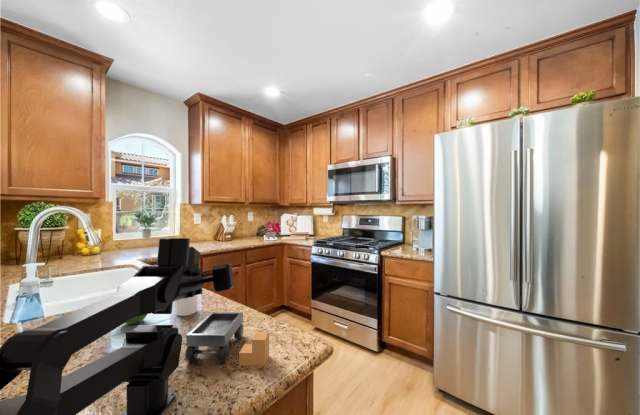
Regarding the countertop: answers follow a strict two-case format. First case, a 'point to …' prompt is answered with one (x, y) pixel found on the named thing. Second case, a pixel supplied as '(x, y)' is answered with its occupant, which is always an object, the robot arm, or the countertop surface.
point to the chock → (255, 351)
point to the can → (186, 306)
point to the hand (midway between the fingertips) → (207, 279)
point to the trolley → (214, 335)
